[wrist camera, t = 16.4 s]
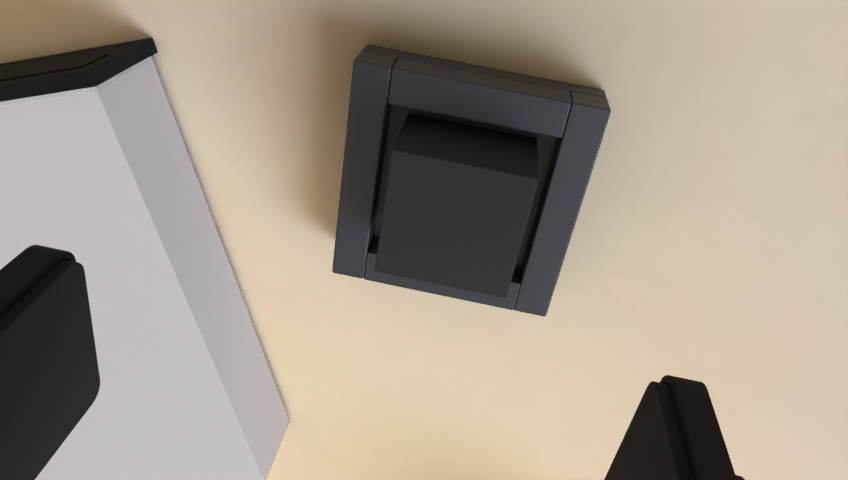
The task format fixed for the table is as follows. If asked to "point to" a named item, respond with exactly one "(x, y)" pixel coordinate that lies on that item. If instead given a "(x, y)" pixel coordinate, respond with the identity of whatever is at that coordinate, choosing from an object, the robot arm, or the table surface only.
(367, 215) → the base pad
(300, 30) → the table surface
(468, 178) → the black block
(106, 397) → the disc drive
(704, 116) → the table surface
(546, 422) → the table surface
